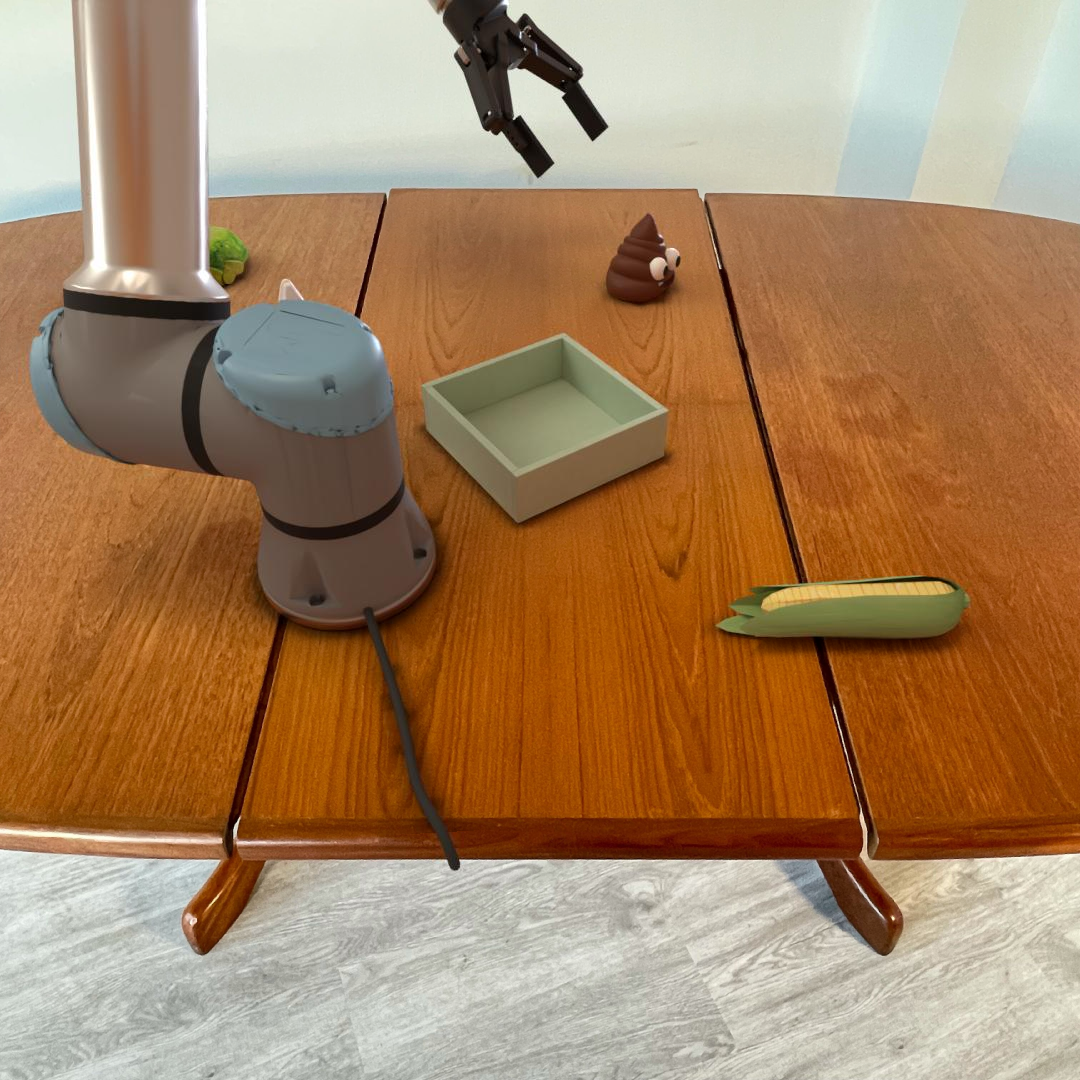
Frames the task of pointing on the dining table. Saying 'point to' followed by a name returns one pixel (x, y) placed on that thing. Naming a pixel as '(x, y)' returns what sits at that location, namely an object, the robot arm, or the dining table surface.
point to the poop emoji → (642, 264)
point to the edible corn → (851, 609)
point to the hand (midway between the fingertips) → (574, 152)
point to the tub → (544, 424)
